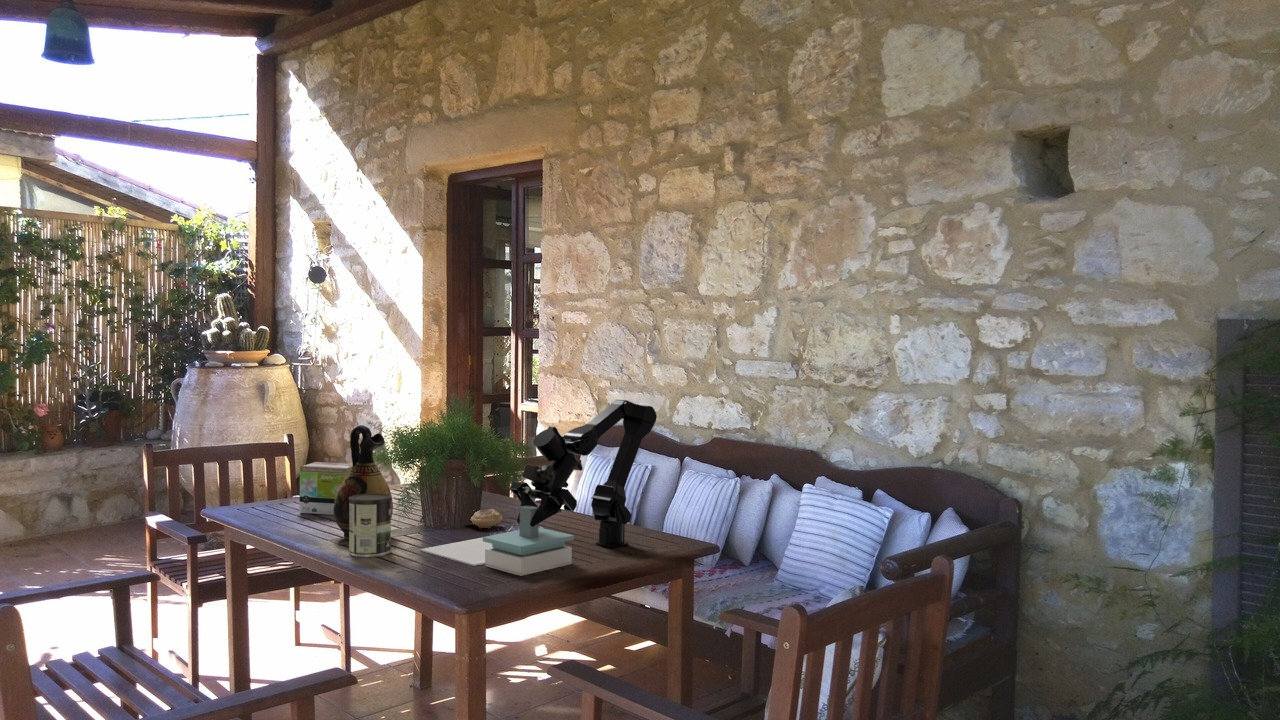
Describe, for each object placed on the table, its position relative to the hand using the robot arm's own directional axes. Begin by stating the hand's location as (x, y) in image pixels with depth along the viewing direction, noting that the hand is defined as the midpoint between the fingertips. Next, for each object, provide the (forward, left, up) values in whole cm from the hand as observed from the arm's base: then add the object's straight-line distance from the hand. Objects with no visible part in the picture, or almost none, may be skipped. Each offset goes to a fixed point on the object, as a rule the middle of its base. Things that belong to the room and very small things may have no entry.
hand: (524, 524), depth 219 cm
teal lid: (-1, 0, -6) cm, 6 cm away
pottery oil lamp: (-21, -43, -10) cm, 49 cm away
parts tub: (-1, 0, -10) cm, 10 cm away
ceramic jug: (+11, -54, -10) cm, 56 cm away
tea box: (-1, -92, -10) cm, 93 cm away
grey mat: (-2, -19, -10) cm, 22 cm away
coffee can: (+19, -37, -10) cm, 43 cm away
